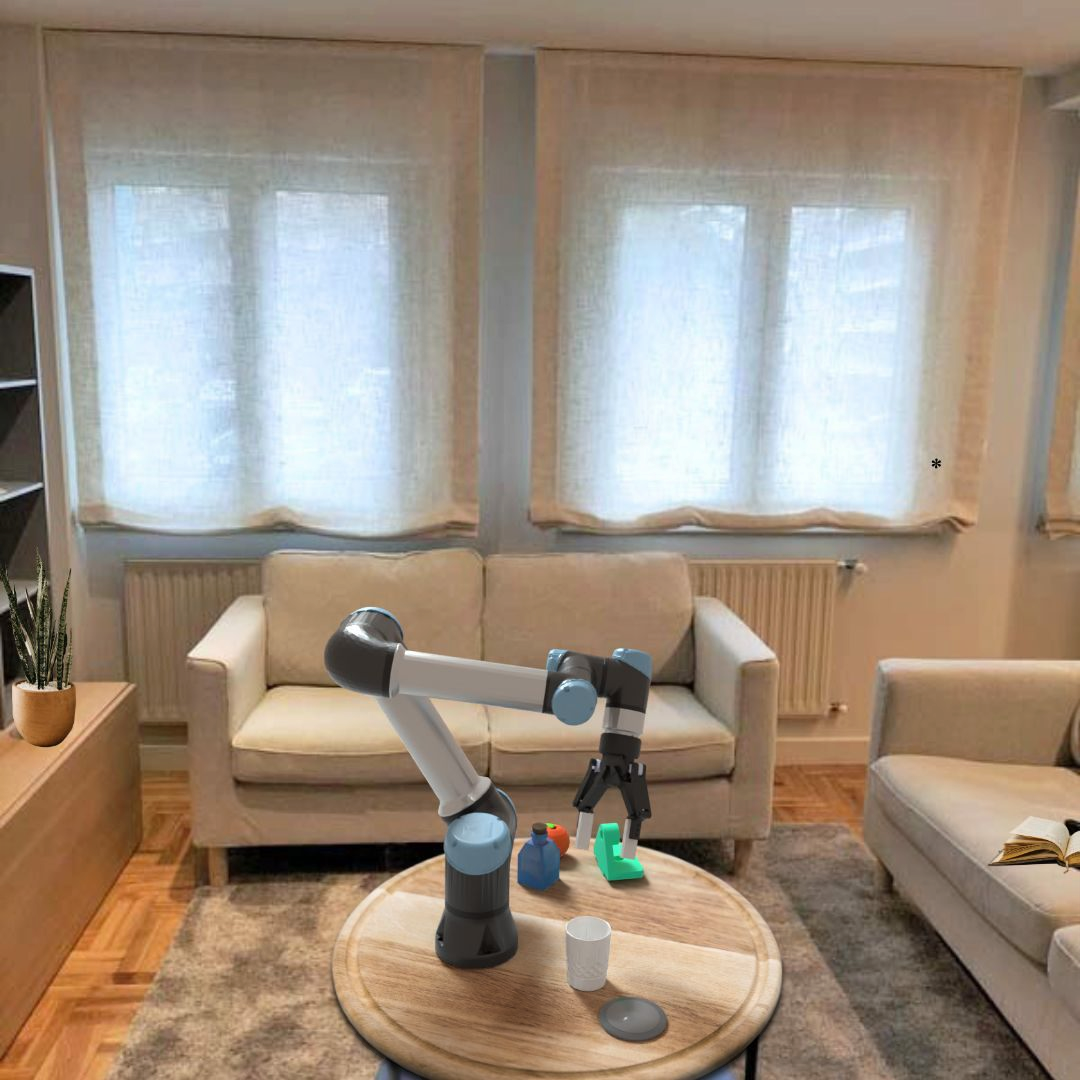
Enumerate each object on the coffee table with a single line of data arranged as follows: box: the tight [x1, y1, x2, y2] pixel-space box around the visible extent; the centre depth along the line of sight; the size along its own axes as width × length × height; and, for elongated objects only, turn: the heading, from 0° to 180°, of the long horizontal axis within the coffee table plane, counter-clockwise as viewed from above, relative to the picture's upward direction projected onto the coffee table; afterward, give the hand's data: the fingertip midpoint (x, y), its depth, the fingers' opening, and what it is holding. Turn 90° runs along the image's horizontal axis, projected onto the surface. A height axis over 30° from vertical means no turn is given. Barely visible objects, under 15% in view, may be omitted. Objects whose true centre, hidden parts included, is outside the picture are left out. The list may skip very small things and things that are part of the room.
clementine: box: [545, 822, 571, 858], centre depth 241 cm, size 8×7×7 cm
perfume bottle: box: [516, 822, 561, 892], centre depth 230 cm, size 6×6×12 cm
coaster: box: [598, 996, 667, 1042], centre depth 186 cm, size 11×11×1 cm
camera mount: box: [593, 822, 644, 881], centre depth 235 cm, size 12×8×10 cm, turn 12°
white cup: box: [564, 915, 612, 992], centre depth 196 cm, size 8×8×10 cm
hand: (603, 854), depth 202 cm, fingers open, 13 cm apart
